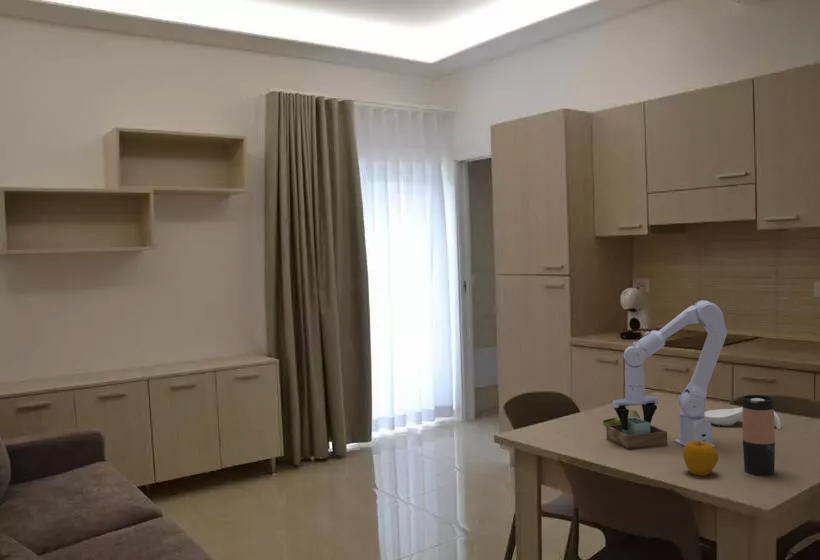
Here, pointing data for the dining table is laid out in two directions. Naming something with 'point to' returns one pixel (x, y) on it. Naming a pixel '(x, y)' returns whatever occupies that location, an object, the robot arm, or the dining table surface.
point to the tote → (637, 426)
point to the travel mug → (758, 435)
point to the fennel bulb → (617, 421)
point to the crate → (637, 438)
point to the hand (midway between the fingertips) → (635, 428)
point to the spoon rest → (731, 417)
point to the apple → (700, 457)
